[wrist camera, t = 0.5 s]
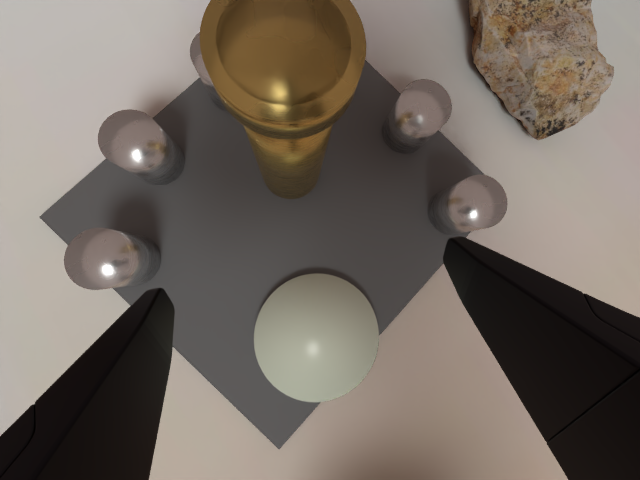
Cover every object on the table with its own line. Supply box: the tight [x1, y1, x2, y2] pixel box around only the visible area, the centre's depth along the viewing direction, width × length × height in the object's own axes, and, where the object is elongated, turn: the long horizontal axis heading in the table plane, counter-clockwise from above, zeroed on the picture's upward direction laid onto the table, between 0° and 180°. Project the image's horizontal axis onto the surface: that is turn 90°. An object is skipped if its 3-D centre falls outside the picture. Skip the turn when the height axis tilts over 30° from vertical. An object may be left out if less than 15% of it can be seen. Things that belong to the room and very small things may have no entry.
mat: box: [40, 60, 484, 449], centre depth 22 cm, size 24×26×1 cm
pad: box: [254, 273, 379, 402], centre depth 21 cm, size 9×9×1 cm
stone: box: [469, 0, 614, 140], centre depth 24 cm, size 21×6×10 cm
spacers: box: [64, 32, 507, 290], centre depth 20 cm, size 16×28×4 cm, turn 99°
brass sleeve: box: [200, 0, 366, 199], centre depth 16 cm, size 5×5×13 cm
